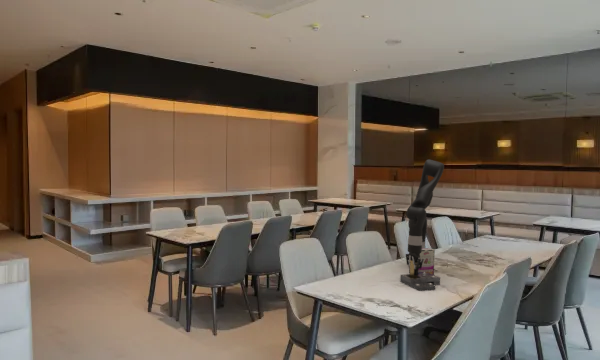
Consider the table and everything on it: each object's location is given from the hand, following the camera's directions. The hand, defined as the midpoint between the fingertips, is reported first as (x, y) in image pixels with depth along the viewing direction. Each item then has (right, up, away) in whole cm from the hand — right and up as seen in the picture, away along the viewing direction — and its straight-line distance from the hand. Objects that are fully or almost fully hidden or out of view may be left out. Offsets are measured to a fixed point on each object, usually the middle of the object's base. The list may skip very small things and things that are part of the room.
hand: (413, 274), depth 244 cm
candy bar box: (+10, -5, +16) cm, 20 cm away
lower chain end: (+1, -5, -4) cm, 7 cm away
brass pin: (0, -4, 0) cm, 4 cm away
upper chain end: (+4, -5, +2) cm, 7 cm away
